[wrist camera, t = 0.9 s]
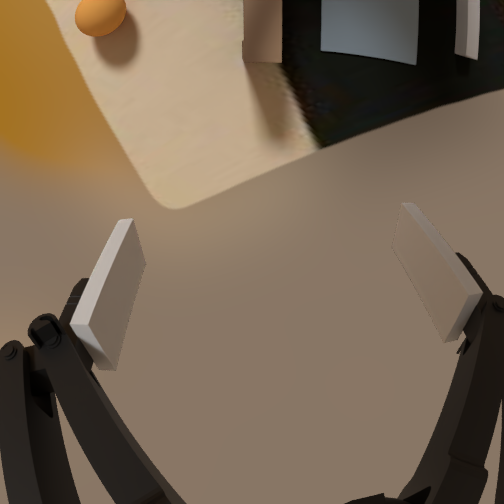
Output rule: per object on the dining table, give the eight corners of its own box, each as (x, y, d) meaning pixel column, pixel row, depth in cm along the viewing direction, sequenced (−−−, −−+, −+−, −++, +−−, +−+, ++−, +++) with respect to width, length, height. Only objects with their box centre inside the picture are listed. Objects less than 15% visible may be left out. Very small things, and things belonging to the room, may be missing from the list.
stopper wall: (456, -14, 23) (467, -15, 21) (467, -9, 23) (479, -10, 21) (454, 53, 29) (465, 55, 27) (465, 57, 29) (477, 59, 27)
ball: (87, -1, 24) (65, -5, 19) (132, -12, 24) (115, -20, 20) (89, 41, 27) (67, 42, 23) (133, 31, 27) (116, 29, 23)
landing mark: (321, -44, 23) (321, -44, 23) (417, -22, 23) (418, -22, 23) (320, 50, 30) (321, 50, 30) (415, 64, 30) (415, 65, 30)
